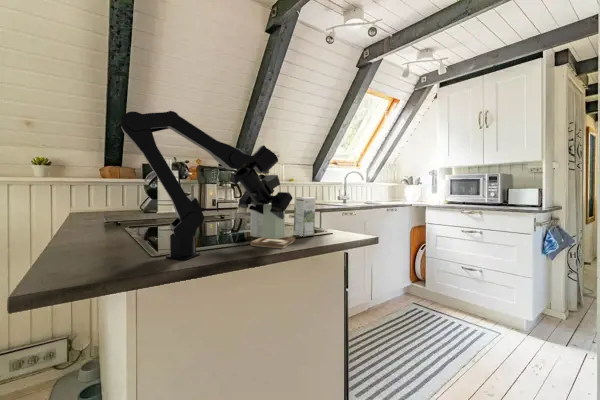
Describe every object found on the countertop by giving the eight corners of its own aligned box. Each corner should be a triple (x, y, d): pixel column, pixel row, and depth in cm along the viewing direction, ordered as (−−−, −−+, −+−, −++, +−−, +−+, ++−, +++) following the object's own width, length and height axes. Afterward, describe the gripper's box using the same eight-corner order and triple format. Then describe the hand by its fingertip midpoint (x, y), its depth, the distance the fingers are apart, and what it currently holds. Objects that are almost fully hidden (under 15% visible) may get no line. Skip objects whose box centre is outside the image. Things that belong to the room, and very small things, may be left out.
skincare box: (256, 237, 107) (257, 204, 106) (249, 236, 110) (249, 203, 109) (270, 235, 111) (270, 203, 110) (263, 234, 114) (263, 202, 113)
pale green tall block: (275, 239, 95) (275, 205, 94) (263, 237, 97) (263, 204, 97) (284, 237, 99) (284, 204, 98) (272, 235, 102) (272, 203, 101)
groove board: (283, 248, 91) (283, 244, 91) (250, 245, 94) (250, 241, 94) (295, 240, 102) (295, 237, 102) (265, 238, 106) (265, 235, 106)
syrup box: (304, 233, 117) (305, 196, 116) (314, 235, 112) (315, 197, 111) (293, 234, 113) (293, 196, 112) (303, 237, 109) (304, 197, 108)
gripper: (289, 165, 88) (309, 200, 97) (245, 166, 99) (268, 198, 109) (270, 192, 82) (294, 227, 92) (226, 190, 93) (252, 221, 103)
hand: (276, 217), depth 99 cm, fingers closed on pale green tall block, 5 cm apart
